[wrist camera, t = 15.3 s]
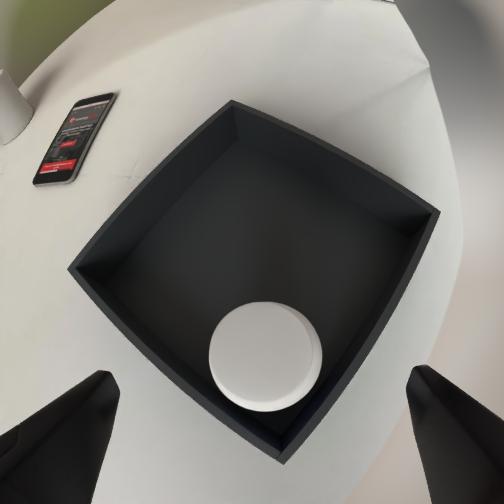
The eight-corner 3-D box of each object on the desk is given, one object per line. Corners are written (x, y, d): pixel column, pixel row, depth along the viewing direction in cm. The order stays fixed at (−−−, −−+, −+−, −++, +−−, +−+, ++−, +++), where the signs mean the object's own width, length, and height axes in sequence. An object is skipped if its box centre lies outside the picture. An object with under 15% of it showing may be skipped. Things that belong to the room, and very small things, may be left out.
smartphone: (30, 185, 28) (76, 100, 34) (33, 188, 29) (78, 104, 35) (70, 180, 28) (116, 91, 33) (73, 184, 28) (118, 95, 34)
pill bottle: (324, 352, 20) (361, 336, 11) (278, 413, 18) (277, 449, 9) (261, 308, 21) (248, 259, 12) (215, 367, 20) (165, 363, 11)
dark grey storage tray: (415, 240, 23) (441, 211, 18) (282, 444, 18) (283, 465, 13) (238, 137, 28) (231, 99, 24) (100, 288, 24) (66, 269, 19)
